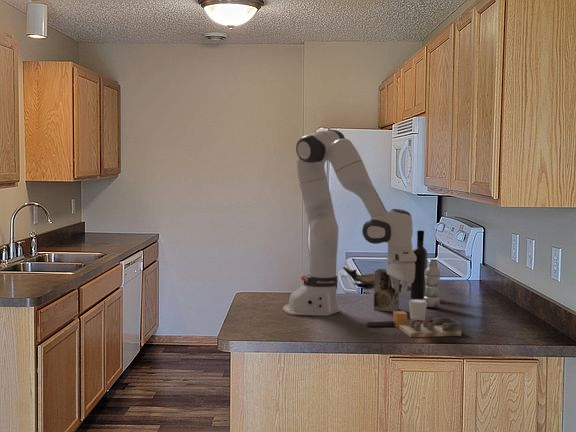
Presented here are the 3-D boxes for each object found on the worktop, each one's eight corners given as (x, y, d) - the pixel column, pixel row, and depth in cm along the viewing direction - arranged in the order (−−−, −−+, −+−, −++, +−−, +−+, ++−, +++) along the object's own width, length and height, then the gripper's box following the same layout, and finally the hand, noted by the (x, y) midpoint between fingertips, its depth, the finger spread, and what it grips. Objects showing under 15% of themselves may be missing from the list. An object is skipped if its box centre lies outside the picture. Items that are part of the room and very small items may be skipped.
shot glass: (422, 321, 257) (423, 303, 256) (405, 318, 261) (406, 301, 260) (428, 318, 263) (429, 300, 262) (412, 315, 267) (413, 298, 266)
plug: (368, 328, 245) (368, 314, 245) (364, 325, 249) (365, 312, 249) (406, 327, 248) (407, 313, 248) (402, 324, 252) (403, 311, 252)
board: (410, 337, 234) (410, 325, 234) (398, 329, 245) (399, 318, 245) (462, 335, 238) (462, 324, 238) (449, 327, 249) (449, 316, 249)
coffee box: (399, 309, 277) (400, 270, 276) (394, 312, 271) (396, 272, 270) (377, 306, 281) (379, 268, 279) (373, 309, 275) (374, 270, 274)
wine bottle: (413, 296, 304) (416, 229, 301) (426, 297, 301) (428, 230, 298) (409, 298, 299) (412, 230, 296) (422, 299, 296) (425, 231, 293)
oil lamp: (386, 293, 309) (387, 276, 308) (336, 283, 330) (337, 267, 329) (414, 287, 325) (415, 271, 324) (365, 278, 346) (365, 263, 345)
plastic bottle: (439, 309, 277) (441, 261, 275) (422, 308, 278) (424, 260, 277) (439, 306, 283) (441, 259, 282) (422, 305, 285) (424, 258, 283)
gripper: (382, 249, 257) (381, 285, 258) (401, 258, 237) (400, 296, 238) (398, 249, 258) (397, 285, 259) (418, 257, 238) (417, 296, 239)
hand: (399, 290), depth 248 cm, fingers open, 8 cm apart
